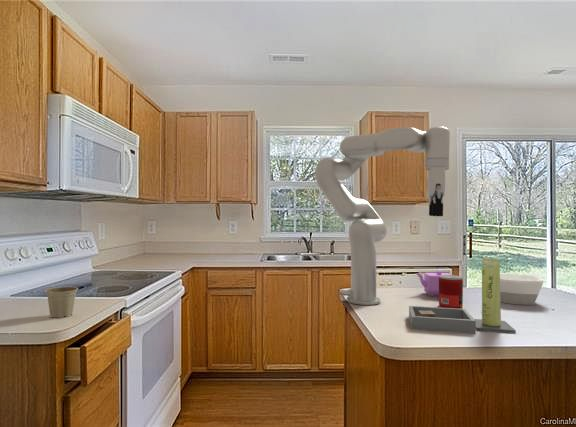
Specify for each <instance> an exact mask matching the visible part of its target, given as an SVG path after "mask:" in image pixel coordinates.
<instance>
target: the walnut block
mask: <svg viewBox="0 0 576 427" xmlns="http://www.w3.org/2000/svg"><path fill="white" fill-rule="evenodd" d="M418 316H421V317H436V314H435V313H433V312H432V311H418Z"/></svg>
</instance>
